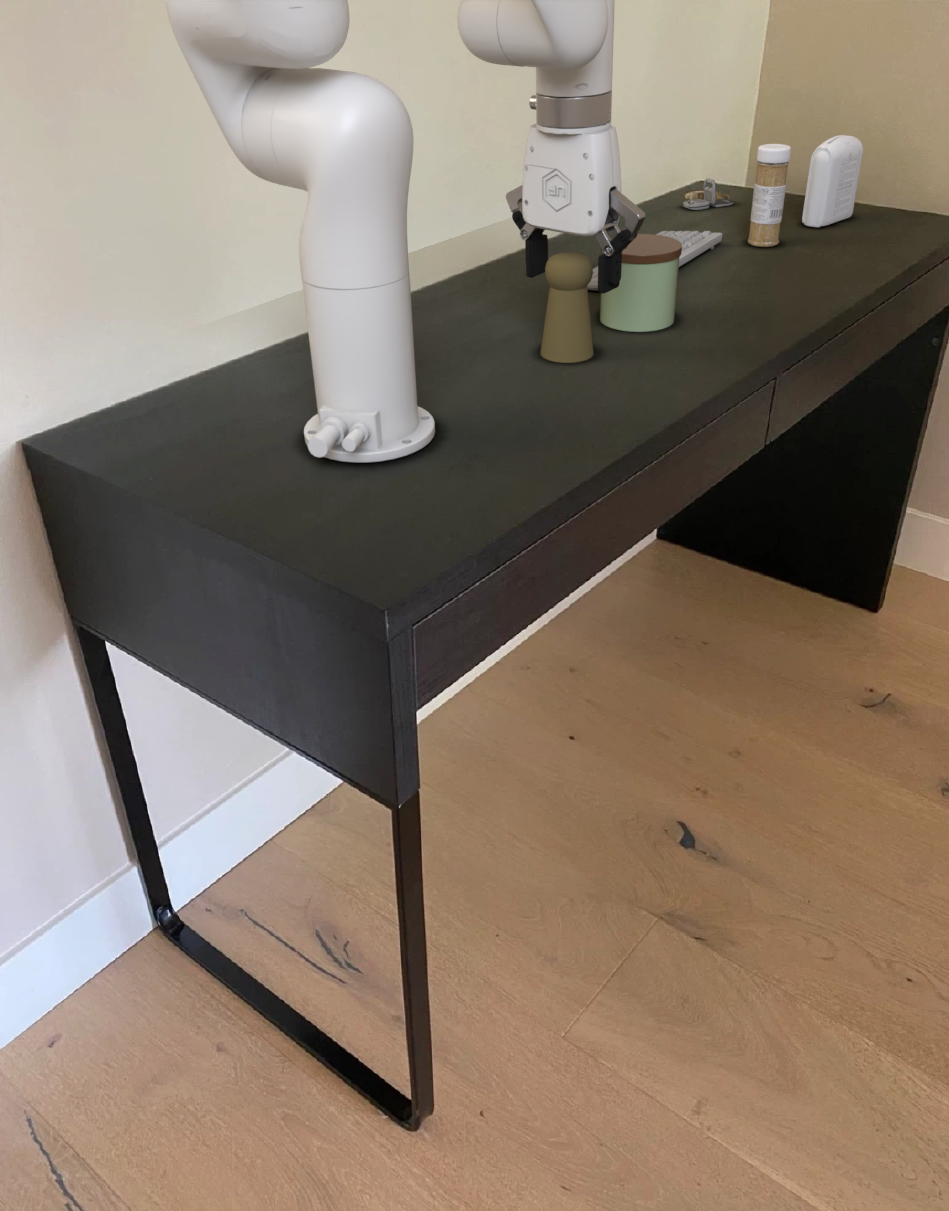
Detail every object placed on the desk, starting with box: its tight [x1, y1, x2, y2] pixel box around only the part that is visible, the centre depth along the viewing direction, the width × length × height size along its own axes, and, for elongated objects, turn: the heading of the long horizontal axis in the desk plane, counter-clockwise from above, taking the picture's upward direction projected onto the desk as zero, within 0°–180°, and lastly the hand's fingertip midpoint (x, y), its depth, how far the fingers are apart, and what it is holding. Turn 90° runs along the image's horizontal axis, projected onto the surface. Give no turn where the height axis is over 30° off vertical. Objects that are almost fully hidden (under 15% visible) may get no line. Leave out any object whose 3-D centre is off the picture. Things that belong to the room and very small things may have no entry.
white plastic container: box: [801, 134, 864, 228], centre depth 159 cm, size 10×4×12 cm, turn 134°
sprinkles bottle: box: [747, 143, 792, 248], centre depth 149 cm, size 5×5×13 cm
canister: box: [599, 233, 682, 333], centre depth 124 cm, size 9×9×9 cm
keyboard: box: [587, 230, 723, 291], centre depth 145 cm, size 29×10×2 cm, turn 147°
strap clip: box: [682, 178, 735, 211], centre depth 172 cm, size 8×3×4 cm, turn 113°
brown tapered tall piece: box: [540, 251, 594, 364], centre depth 115 cm, size 6×6×11 cm
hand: (572, 281), depth 114 cm, fingers open, 9 cm apart
